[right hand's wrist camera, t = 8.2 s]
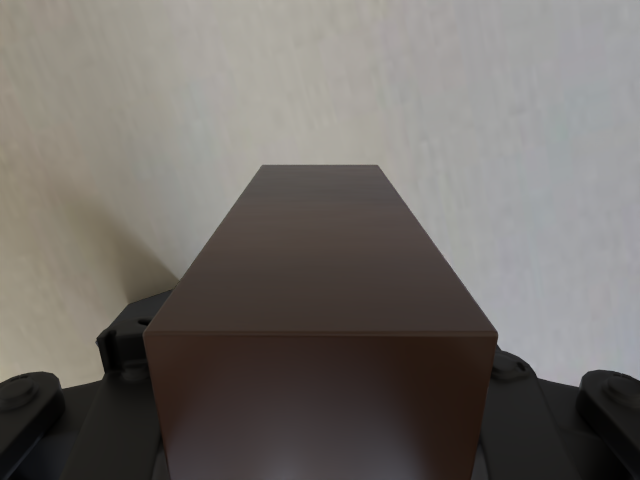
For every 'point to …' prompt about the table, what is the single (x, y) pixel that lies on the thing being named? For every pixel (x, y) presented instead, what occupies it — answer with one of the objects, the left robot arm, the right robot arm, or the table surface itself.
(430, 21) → the table surface
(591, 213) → the table surface
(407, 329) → the beam
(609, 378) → the right robot arm
